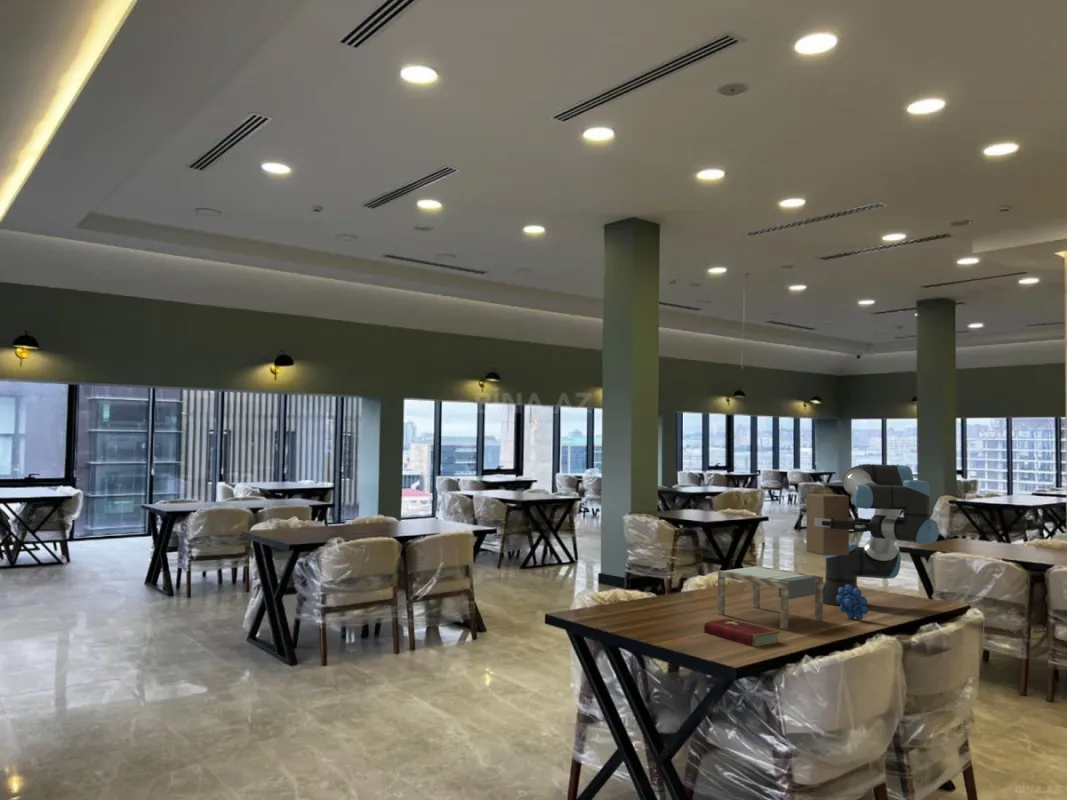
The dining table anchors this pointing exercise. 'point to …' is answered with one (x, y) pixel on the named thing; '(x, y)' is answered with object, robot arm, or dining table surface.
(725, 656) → the dining table surface
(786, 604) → the hinged flap stand
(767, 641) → the hardcover book
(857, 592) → the grapes
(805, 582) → the trapdoor
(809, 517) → the wooden block
